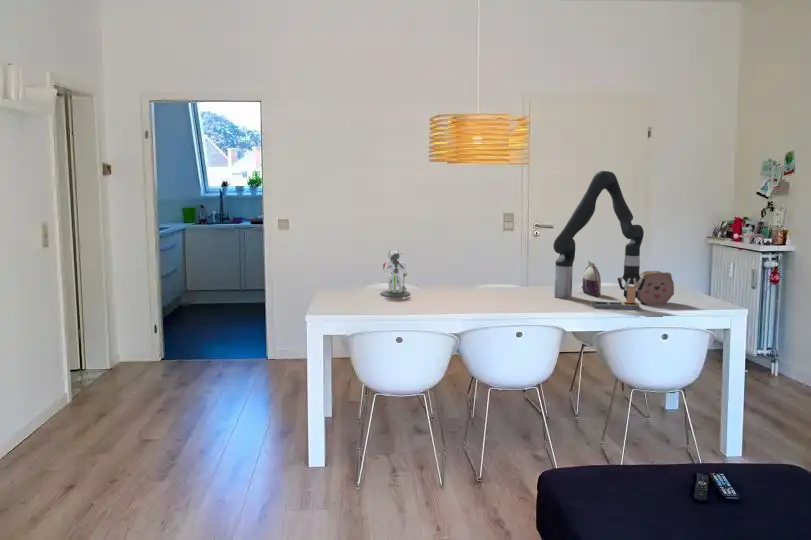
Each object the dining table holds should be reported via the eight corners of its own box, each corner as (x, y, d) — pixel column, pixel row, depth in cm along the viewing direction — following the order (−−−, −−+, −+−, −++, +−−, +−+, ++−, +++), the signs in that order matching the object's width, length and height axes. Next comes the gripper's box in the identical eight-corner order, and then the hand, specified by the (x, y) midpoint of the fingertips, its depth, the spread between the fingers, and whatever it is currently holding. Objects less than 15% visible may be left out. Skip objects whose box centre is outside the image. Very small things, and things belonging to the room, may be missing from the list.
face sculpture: (639, 304, 379) (640, 273, 376) (632, 302, 385) (633, 271, 383) (674, 303, 382) (675, 272, 380) (666, 301, 389) (668, 270, 387)
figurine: (411, 292, 414) (411, 248, 410) (408, 297, 397) (409, 251, 393) (382, 291, 415) (382, 248, 412) (378, 296, 399) (378, 251, 395)
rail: (594, 308, 369) (594, 303, 369) (592, 305, 377) (592, 300, 377) (639, 309, 366) (639, 305, 366) (636, 306, 374) (636, 302, 373)
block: (626, 302, 368) (627, 287, 367) (625, 301, 372) (626, 285, 371) (634, 303, 368) (635, 287, 367) (633, 301, 372) (634, 286, 370)
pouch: (573, 291, 419) (575, 258, 416) (586, 290, 421) (588, 257, 419) (596, 298, 395) (597, 264, 393) (609, 298, 397) (611, 263, 395)
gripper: (645, 263, 370) (643, 297, 372) (616, 263, 372) (615, 296, 375) (647, 265, 363) (646, 299, 365) (618, 265, 365) (616, 298, 367)
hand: (630, 297), depth 370 cm, fingers closed on block, 4 cm apart
